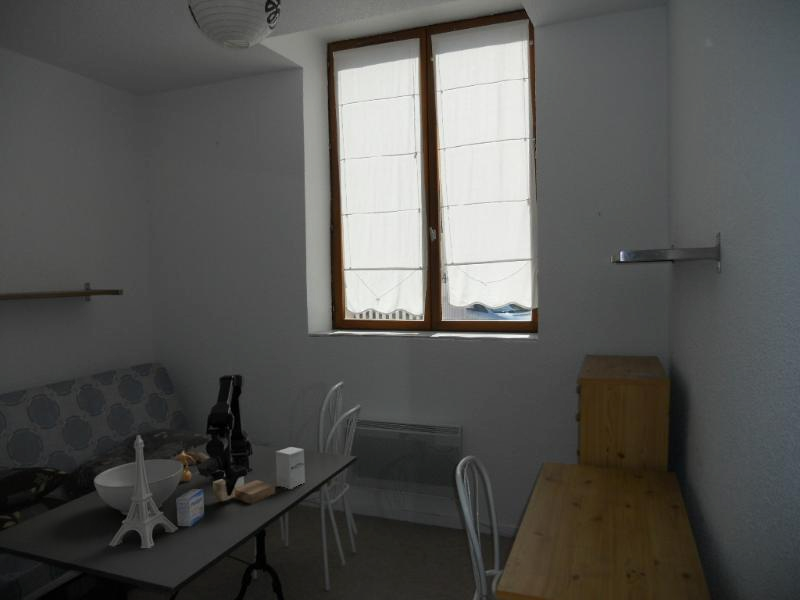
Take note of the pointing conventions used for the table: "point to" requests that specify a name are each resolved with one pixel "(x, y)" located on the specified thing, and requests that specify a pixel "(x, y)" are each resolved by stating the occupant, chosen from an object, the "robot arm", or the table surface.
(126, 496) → the decorative bowl
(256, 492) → the walnut block
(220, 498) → the oak block
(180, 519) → the medicine box
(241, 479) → the sage cube
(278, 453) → the supplement box
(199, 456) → the wooden block set
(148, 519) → the eiffel tower
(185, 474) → the figurine
